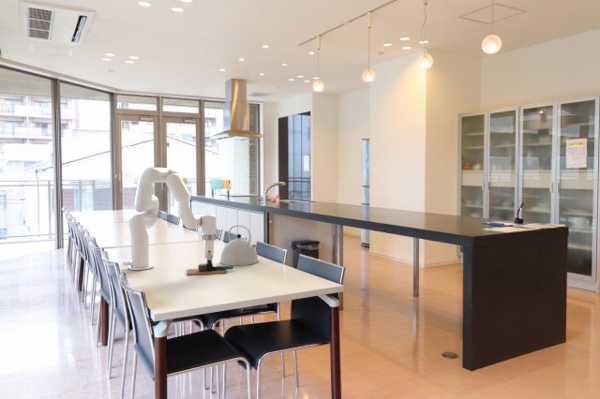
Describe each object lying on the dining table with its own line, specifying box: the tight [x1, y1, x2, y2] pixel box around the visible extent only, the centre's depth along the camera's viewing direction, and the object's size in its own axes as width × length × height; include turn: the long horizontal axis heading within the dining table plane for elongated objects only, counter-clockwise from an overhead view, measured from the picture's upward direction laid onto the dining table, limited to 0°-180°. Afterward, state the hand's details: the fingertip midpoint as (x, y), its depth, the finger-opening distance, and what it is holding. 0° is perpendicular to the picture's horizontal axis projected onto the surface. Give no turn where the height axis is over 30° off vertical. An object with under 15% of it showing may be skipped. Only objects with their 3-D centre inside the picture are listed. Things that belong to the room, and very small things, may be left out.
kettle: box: [220, 224, 259, 266], centre depth 281 cm, size 25×23×22 cm
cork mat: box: [187, 268, 227, 276], centre depth 253 cm, size 20×12×1 cm, turn 103°
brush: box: [197, 263, 234, 272], centre depth 254 cm, size 19×4×4 cm, turn 103°
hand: (209, 269), depth 253 cm, fingers closed on brush, 4 cm apart
